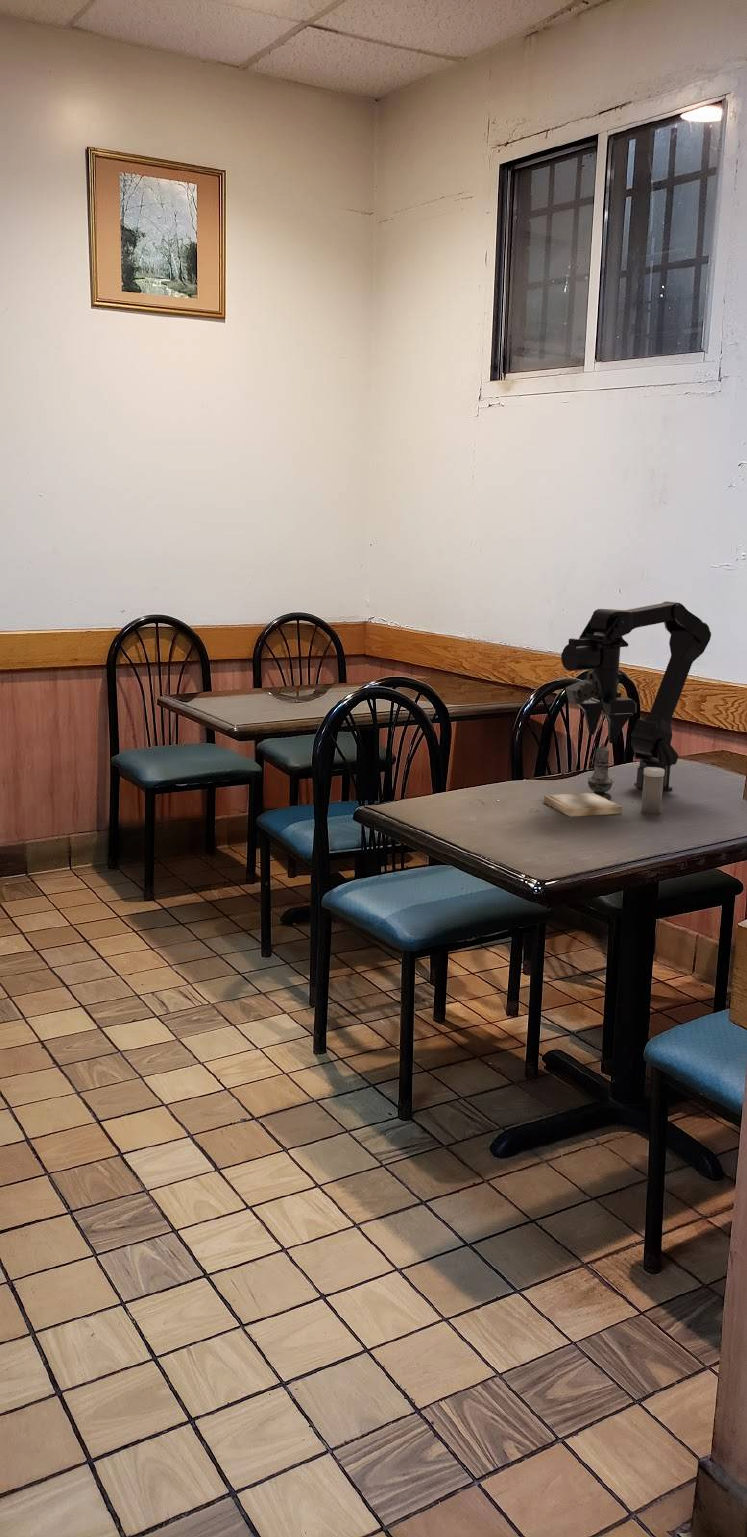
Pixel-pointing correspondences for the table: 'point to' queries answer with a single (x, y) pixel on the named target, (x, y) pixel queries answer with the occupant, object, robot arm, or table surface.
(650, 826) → the table surface
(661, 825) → the table surface
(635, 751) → the robot arm
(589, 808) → the maple picture frame
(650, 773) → the pepper shaker
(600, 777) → the salt shaker
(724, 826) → the table surface
